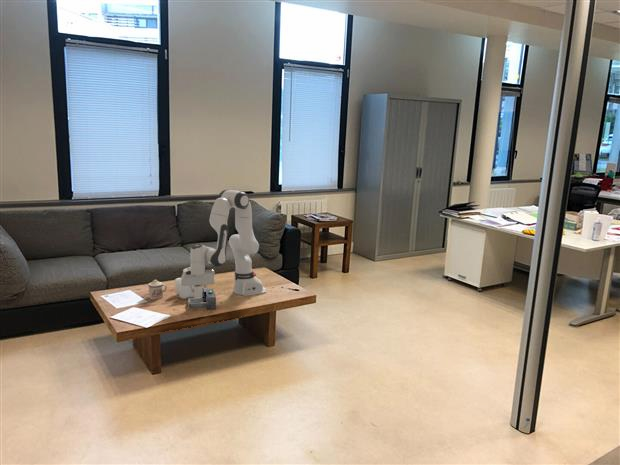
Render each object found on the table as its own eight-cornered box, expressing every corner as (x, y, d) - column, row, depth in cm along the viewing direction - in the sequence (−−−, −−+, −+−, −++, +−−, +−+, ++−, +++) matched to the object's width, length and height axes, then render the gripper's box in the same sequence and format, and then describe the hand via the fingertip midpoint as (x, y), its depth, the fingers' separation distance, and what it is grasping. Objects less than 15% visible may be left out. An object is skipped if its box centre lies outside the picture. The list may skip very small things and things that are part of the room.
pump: (201, 294, 307) (201, 281, 305) (202, 297, 303) (202, 283, 301) (193, 295, 306) (193, 281, 304) (194, 297, 301) (194, 284, 299)
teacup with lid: (152, 300, 312) (151, 283, 309) (146, 296, 319) (145, 279, 316) (169, 296, 320) (169, 279, 317) (163, 292, 326) (163, 276, 324)
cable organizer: (178, 299, 315) (178, 282, 312) (174, 294, 324) (174, 277, 321) (201, 296, 322) (201, 279, 319) (197, 291, 331) (196, 275, 328)
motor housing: (213, 300, 316) (212, 286, 314) (216, 309, 302) (216, 295, 300) (187, 302, 312) (187, 288, 309) (189, 311, 297) (189, 297, 295)
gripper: (214, 267, 307) (214, 288, 310) (180, 269, 300) (181, 290, 304) (215, 270, 301) (215, 292, 304) (181, 272, 295) (181, 294, 298)
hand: (197, 291), depth 304 cm, fingers closed on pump, 5 cm apart
